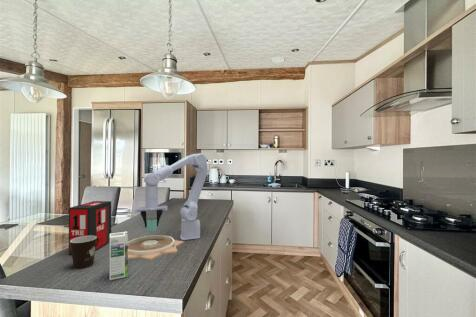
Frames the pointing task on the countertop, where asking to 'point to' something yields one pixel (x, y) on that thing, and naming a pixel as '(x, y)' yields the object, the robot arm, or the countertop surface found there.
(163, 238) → the ring tray
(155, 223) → the bead
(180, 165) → the robot arm
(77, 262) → the coffee mug
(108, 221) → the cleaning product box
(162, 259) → the countertop surface
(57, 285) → the countertop surface
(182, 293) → the countertop surface
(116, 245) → the syrup box
